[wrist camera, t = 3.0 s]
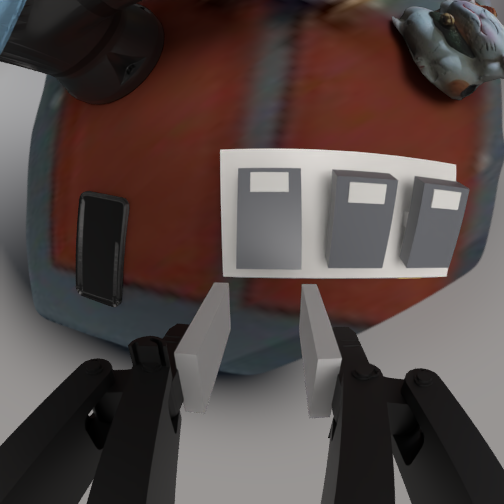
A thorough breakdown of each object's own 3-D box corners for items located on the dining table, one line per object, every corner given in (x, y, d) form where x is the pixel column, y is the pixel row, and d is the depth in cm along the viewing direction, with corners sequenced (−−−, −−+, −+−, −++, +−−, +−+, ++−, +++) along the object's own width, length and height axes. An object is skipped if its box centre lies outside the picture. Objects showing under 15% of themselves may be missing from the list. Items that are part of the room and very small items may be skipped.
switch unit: (232, 263, 34) (220, 285, 27) (230, 154, 31) (216, 148, 24) (422, 264, 32) (452, 284, 25) (429, 165, 29) (463, 164, 22)
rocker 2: (376, 256, 25) (382, 269, 24) (324, 255, 26) (328, 269, 24) (389, 173, 21) (398, 180, 20) (332, 169, 22) (337, 176, 20)
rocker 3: (440, 257, 25) (449, 268, 23) (399, 256, 25) (406, 269, 23) (458, 181, 21) (470, 189, 19) (414, 175, 21) (425, 183, 19)
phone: (76, 293, 36) (80, 190, 33) (80, 290, 37) (84, 189, 34) (119, 309, 36) (128, 199, 32) (123, 306, 37) (132, 198, 33)
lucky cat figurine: (382, 2, 24) (448, -46, 11) (437, 42, 28) (498, 9, 15) (410, 82, 23) (509, 33, 10) (464, 120, 27) (544, 93, 14)
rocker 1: (299, 268, 24) (301, 269, 22) (239, 268, 24) (236, 268, 22) (298, 175, 24) (300, 167, 22) (241, 175, 25) (237, 167, 23)
